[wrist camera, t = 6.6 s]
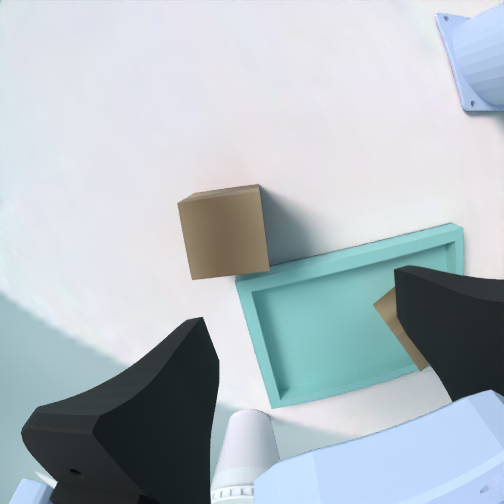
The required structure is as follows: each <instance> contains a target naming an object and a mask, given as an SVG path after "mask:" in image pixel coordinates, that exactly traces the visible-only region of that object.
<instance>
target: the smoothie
mask: <svg viewBox="0 0 504 504" xmlns="http://www.w3.org/2000/svg"><path fill="white" fill-rule="evenodd" d="M279 461H280V457H279V453H278V449H277V445H276V441H275V437H274V432H273V428H272V424H271V420H270V418H269V416H268V415H267V414H265V413H264V412H261V411H259V410H253V409H246V410H241V411H238V412H236V413H234V414H233V415H232V416H231V417H230V419H229V423H228V427H227V431H226V434H225V438H224V442H223V445H222V449H221V453H220V456H219V460H218V464H217V468H216V471H215V475H214V478H213V481H212V485H211V489H210V491H211V504H254V480H256V479H257V478H258V477H260V476H261V475H262V474H263V473H265V472H266V471H267V470H269V469H270V468H271V467H272V466H273V465H275V464H276V463H278V462H279Z"/></svg>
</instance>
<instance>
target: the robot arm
mask: <svg viewBox="0 0 504 504" xmlns="http://www.w3.org/2000/svg"><path fill="white" fill-rule="evenodd" d="M434 18H435V21H436V23H437V26H438V28H439V31H440V34H441V37H442V39H443V42H444V45H445V48H446V51H447V54H448V57H449V60H450V64H451V67H452V70H453V74H454V77H455V81H456V84H457V88H458V92H459V96H460V100H461V105H462V107H463V109H464V110H465V111H504V2H503V3H501V4H499V5H497V6H495V7H493V8H491V9H489V10H487V11H485V12H483V13H481V14H479V15H477V16H475V17H473V18H468V17H463V16H457V15H451V14H445V13H437V14H435V16H434ZM444 18H445V19H446V20H447V21H446V20H445V19H444ZM471 102H472V104H473V107H472V106H471ZM394 280H395V294H396V312H397V318H398V320H399V322H400V324H401V325H402V327H403V329H404V331H405V332H406V334H407V336H408V337H409V338H410V340H411V341H412V342H413V344H414V345H415V346H416V348H417V349H418V350H419V351H420V353H421V354H422V355H423V357H424V358H425V359H426V360H427V362H428V363H429V364H430V366H431V367H432V368H433V370H434V371H435V372H436V374H437V375H438V377H439V378H440V380H441V381H442V383H443V385H444V387H445V389H446V390H447V392H448V394H449V396H450V398H451V400H452V403H450V404H448V405H446V406H444V407H441V408H439V409H437V410H435V411H432V412H430V413H428V414H425V415H423V416H420V417H418V418H415V419H413V420H410V421H407V422H405V423H402V424H399V425H397V426H394V427H391V428H388V429H385V430H382V431H379V432H376V433H373V434H370V435H367V436H364V437H360V438H357V439H353V440H350V441H346V442H343V443H339V444H335V445H331V446H327V447H323V448H319V449H315V450H311V451H308V452H305V453H303V454H300V455H297V456H294V457H291V458H288V459H285V460H282V461H279V462H278V463H276V464H275V465H273V466H272V467H271V468H270V469H269V470H267V471H266V472H265V473H263V474H262V475H261V476H260V477H258V478H257V479H256V480H254V504H504V280H497V279H484V278H475V277H469V276H463V275H458V274H453V273H448V272H443V271H439V270H434V269H430V268H425V267H420V266H413V265H407V266H403V267H400V268H396V269H394ZM218 387H219V359H218V356H217V354H216V351H215V348H214V346H213V343H212V340H211V338H210V335H209V332H208V330H207V327H206V324H205V322H204V319H203V317H199V318H194V319H189V320H186V321H185V322H183V323H182V324H181V325H180V326H178V327H177V328H176V329H175V330H174V331H173V332H172V333H171V334H169V335H168V336H167V337H166V338H165V339H164V340H163V341H162V342H161V343H159V344H158V345H157V346H156V347H155V348H154V349H152V350H151V351H150V352H149V353H147V354H146V355H145V356H144V357H143V358H141V359H140V360H139V361H138V362H136V363H135V364H133V365H132V366H131V367H129V368H128V369H126V370H125V371H123V372H122V373H120V374H119V375H117V376H115V377H113V378H112V379H110V380H108V381H106V382H104V383H102V384H100V385H98V386H96V387H94V388H92V389H90V390H88V391H86V392H83V393H81V394H78V395H76V396H73V397H70V398H67V399H65V400H61V401H58V402H54V403H51V404H47V405H43V406H40V407H38V408H36V409H35V411H34V412H33V413H32V415H31V416H30V418H29V419H28V421H27V422H26V423H25V425H24V426H23V428H22V431H21V435H22V439H23V442H24V444H25V446H26V447H27V449H28V451H29V452H30V453H31V454H32V456H33V457H34V458H35V459H36V460H37V461H38V462H39V463H40V464H41V466H42V467H43V468H44V469H45V470H46V471H47V472H48V473H49V474H50V475H51V476H52V477H53V478H54V479H55V480H56V481H57V482H58V483H57V485H56V487H55V489H53V488H52V487H50V486H49V485H46V484H44V483H41V482H37V481H34V480H31V479H27V478H23V479H22V481H21V483H20V484H19V486H18V488H17V490H16V492H15V494H14V496H13V497H12V499H11V501H10V503H9V504H211V491H210V439H211V430H212V424H213V418H214V412H215V406H216V400H217V394H218Z"/></svg>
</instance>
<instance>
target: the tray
mask: <svg viewBox="0 0 504 504" xmlns="http://www.w3.org/2000/svg"><path fill="white" fill-rule="evenodd" d="M407 265H413V266H420V267H425V268H430V269H434V270H439V271H443V272H448V273H453V274H458V275H463V276H464V234H463V227H461V226H458V225H456V224H453V223H448V224H444V225H440V226H436V227H432V228H428V229H424V230H420V231H416V232H412V233H408V234H404V235H400V236H396V237H392V238H388V239H383V240H379V241H375V242H371V243H367V244H363V245H359V246H354V247H350V248H346V249H342V250H337V251H333V252H329V253H325V254H320V255H316V256H312V257H308V258H303V259H299V260H294V261H290V262H286V263H281V264H277V265H273V266H269V269H270V271H264V272H256V273H248V274H240V275H236V280H235V284H236V288H237V291H238V295H239V298H240V302H241V306H242V309H243V313H244V316H245V320H246V323H247V327H248V330H249V334H250V337H251V340H252V344H253V347H254V351H255V354H256V358H257V361H258V364H259V368H260V371H261V374H262V378H263V381H264V385H265V388H266V391H267V394H268V398H269V401H270V404H271V408H272V409H274V408H280V407H285V406H290V405H295V404H300V403H305V402H309V401H314V400H318V399H322V398H327V397H331V396H335V395H339V394H342V393H346V392H350V391H353V390H357V389H361V388H364V387H367V386H371V385H374V384H377V383H381V382H384V381H387V380H390V379H393V378H396V377H399V376H402V375H405V374H408V373H410V372H413V371H416V370H419V369H418V367H417V366H416V364H415V363H414V362H413V360H412V359H411V357H410V356H409V354H408V353H407V352H406V350H405V349H404V347H403V346H402V345H401V343H400V342H399V340H398V339H397V338H396V336H395V335H394V333H393V332H392V331H391V329H390V328H389V327H388V325H387V324H386V322H385V321H384V320H383V318H382V317H381V316H380V314H379V313H378V312H377V310H376V309H375V308H374V306H373V304H374V303H375V302H376V301H378V300H379V299H380V298H381V297H383V296H384V295H385V294H386V293H387V292H389V291H390V290H391V289H392V288H393V287H394V286H395V280H394V269H396V268H400V267H403V266H407ZM429 365H430V364H429ZM429 365H428V366H429ZM426 367H427V366H426Z"/></svg>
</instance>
